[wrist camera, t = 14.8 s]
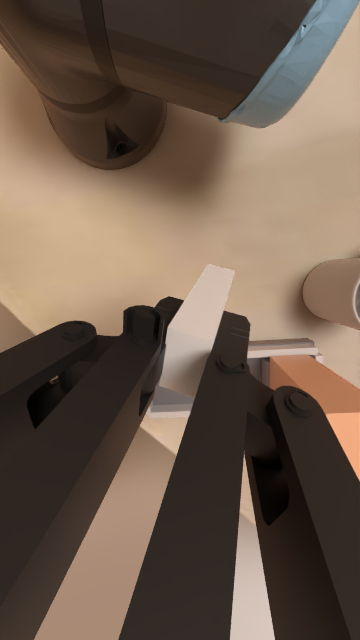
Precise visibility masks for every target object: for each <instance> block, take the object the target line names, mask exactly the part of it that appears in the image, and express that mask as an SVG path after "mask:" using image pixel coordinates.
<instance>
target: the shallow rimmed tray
mask: <svg viewBox="0 0 360 640" xmlns="http://www.w3.org/2000/svg"><path fill="white" fill-rule="evenodd" d="M306 354H308V355H309V356H311V357H312V358H314V359H315V360H317V361H318V362H320V363H321V364H323V355H322V354H320V353H318V347H316V346H314V341H312V340H310V339H308V338H301V339H283V340H265V341H249V344H248V355H247V364H248V365H249V369H250V372H251V374H252V375H253V376H254V377H255V378H256V379H257V380H258V381H260V382H261V383H262V357H270V356H287V355H306ZM159 383H160V379H159V381H158V383H157V385H156V387H155V394H154V398H153V400H152V402H151V404H150V406H149V408H148V410H147V412H146V414H145V415H148V419H158V418H183V417H189V415H190V412H191V409H192V405H193V402H194V399H195V398H193V397H190V396H187V395H184V394H181V393H178V392H175V391H173V390H170V389H167V388H164V387H161V386H159Z"/></svg>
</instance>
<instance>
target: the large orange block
mask: <svg viewBox="0 0 360 640" xmlns="http://www.w3.org/2000/svg"><path fill="white" fill-rule="evenodd" d="M262 383H263V384H264V385H266V386H268V387H269V388H271V389H273V390H276V388H278V387H280V386H293V387H296V388H300V389H301V390H303V391H305V392H307V393H308V394H310V395H311V396H312V397H313V398H314V399H315V400H317V402H318V403H319V405H320V406H321V407H322V409H323V411H324V413H325V415H326V417H327V419H328V421H329V423H330V425H331V426H332V428H333V430H334V432H335V434H336V436H337V438H338V440H339V442H340V444H341V446H342V448H343V450H344V452H345V454H346V456H347V458H348V460H349V461H350V463H351V465H352V467H353V469H354V471H355V473H356V475H357V477H358V479H359V481H360V389H358V388H357V387H355V386H354V385H352V384H351V383H349V382H348V381H346V380H345V379H343V378H342V377H340V376H339V375H337V374H336V373H334V372H333V371H331V370H330V369H328V368H327V367H326V366H324V365H323V364H321V363H320V362H318V361H317V360H315V359H314V358H312V357H311V356H309V355H308V354H306V355H287V356H270V357H262Z"/></svg>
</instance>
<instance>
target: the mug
mask: <svg viewBox="0 0 360 640" xmlns="http://www.w3.org/2000/svg"><path fill="white" fill-rule="evenodd" d="M303 299H304V303H305V305H306V307H307V308H308V309H309V311H311V312H312V313H313V314H314V315H316V316H318V317H320V318H323V319H326V320H329V321H333V322H336V323H339V324H342V325H345V326H348V327H352V328H355V329H358V330H360V258H351V259H338V260H331V261H327V262H324V263H322V264H320V265H318V266H317V267H316V268H314V269H313V270H312V271H311V272H310V274H309V275H308V276H307V278H306V280H305V282H304V286H303Z"/></svg>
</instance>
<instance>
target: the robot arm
mask: <svg viewBox="0 0 360 640" xmlns="http://www.w3.org/2000/svg"><path fill="white" fill-rule="evenodd" d="M359 1H360V0H0V44H1V46H2V47H3V48H4V49H5V51H6V52H7V53H8V54H9V55H10V57H11V58H12V59H13V60H14V61H15V63H16V64H17V65H18V66H19V68H20V69H21V70H22V71H23V72H24V74H25V75H26V76H27V77H28V78H29V80H30V81H31V82H32V83H33V84H34V85H35V87H36V88H37V89H38V91H39V94H40V96H41V99H42V101H43V103H44V106H45V109H46V112H47V115H48V118H49V120H50V123H51V125H52V127H53V129H54V130H55V132H56V133H57V135H58V136H59V138H60V139H61V140H62V142H63V143H64V144H65V145H66V146H67V147H68V148H69V149H70V150H71V151H72V152H73V153H74V154H75V155H76V156H77V157H78V158H80V159H81V160H82V161H84V162H86V163H87V164H90V165H92V166H94V167H98V168H102V169H121V168H125V167H128V166H130V165H133V164H135V163H136V162H138V161H140V160H141V159H142V158H143V157H145V156H146V155H147V154H148V153H149V152H150V151H151V149H152V148H153V147H154V145H155V144H156V142H157V141H158V139H159V137H160V134H161V132H162V129H163V126H164V122H165V117H166V101H168V102H171V103H174V104H177V105H181V106H184V107H187V108H190V109H193V110H196V111H200V112H203V113H206V114H209V115H212V116H215V117H218V121H220V122H222V123H228V122H235V123H239V124H242V125H246V126H250V127H254V128H265V127H267V126H269V125H271V124H274V123H276V122H278V121H279V120H280V119H282V118H283V117H284V116H285V115H286V114H287V113H288V112H289V111H290V110H291V108H292V107H293V106H294V105H295V104H296V103H297V101H298V100H299V99H300V97H301V96H302V95H303V93H304V92H305V91H306V89H307V88H308V86H309V85H310V83H311V82H312V80H313V79H314V77H315V76H316V74H317V73H318V71H319V70H320V68H321V67H322V65H323V64H324V62H325V60H326V59H327V57H328V55H329V54H330V52H331V50H332V49H333V47H334V46H335V44H336V42H337V41H338V39H339V37H340V36H341V34H342V32H343V30H344V29H345V27H346V25H347V23H348V22H349V20H350V18H351V16H352V15H353V13H354V11H355V9H356V7H357V5H358V4H359ZM234 274H235V270H231V269H227V268H223V267H219V266H215V265H211V264H208V265H207V266H206V268H205V269H204V271H203V273H202V274H201V276H200V277H199V279H198V280H197V282H196V283H195V285H194V287H193V288H192V290H191V291H190V293H189V294H188V296H187V298H186V299H185V301H184V300H180V299H177V298H173V297H170V296H168V297H166V298H164V299H162V300H160V301H159V303H158V304H157V305H156V307H154V308H153V307H150V306H144V305H141V306H133V307H129V308H127V309H126V310H124V317H123V333H122V334H121V335H120V336H103V335H97V333H96V329H95V327H94V326H93V325H92V324H90V323H88V322H85V321H69V322H65V323H62V324H59V325H57V326H55V327H53V328H51V329H49V330H47V331H45V332H43V333H41V334H39V335H37V336H35V337H33V338H31V339H28V340H27V341H24V342H22V343H20V344H18V345H16V346H14V347H12V348H10V349H8V350H6V351H4V352H2V353H0V640H34V638H35V636H36V634H37V632H38V630H39V628H40V626H41V624H42V622H43V620H44V618H45V616H46V614H47V612H48V610H49V608H50V605H51V604H52V602H53V600H54V598H55V596H56V594H57V592H58V589H59V588H60V586H61V583H62V581H63V579H64V577H65V575H66V573H67V571H68V569H69V567H70V565H71V563H72V561H73V559H74V557H75V555H76V553H77V551H78V549H79V547H80V545H81V543H82V541H83V539H84V537H85V535H86V533H87V531H88V529H89V527H90V525H91V523H92V521H93V519H94V517H95V515H96V513H97V510H98V509H99V507H100V505H101V503H102V501H103V499H104V497H105V495H106V493H107V491H108V488H109V487H110V484H111V482H112V480H113V478H114V476H115V474H116V472H117V470H118V468H119V466H120V464H121V462H122V460H123V458H124V456H125V454H126V452H127V450H128V448H129V446H130V444H131V442H132V440H133V438H134V436H135V434H136V432H137V430H138V428H139V426H140V424H141V422H142V420H143V418H144V416H145V414H146V412H147V410H148V408H149V406H150V404H151V402H152V400H153V398H154V394H155V387H156V385H157V383H158V381H159V379H160V383H159V386H161V387H164V388H167V389H170V390H173V391H175V392H178V393H181V394H184V395H187V396H190V397H193V398H195V399H194V402H193V405H192V409H191V412H190V415H189V418H188V421H187V424H186V428H185V431H184V434H183V437H182V440H181V443H180V447H179V450H178V453H177V456H176V459H175V463H174V466H173V469H172V472H171V475H170V478H169V481H168V485H167V488H166V491H165V494H164V497H163V500H162V504H161V507H160V510H159V513H158V516H157V519H156V523H155V526H154V529H153V532H152V535H151V539H150V542H149V545H148V548H147V551H146V554H145V557H144V561H143V564H142V567H141V570H140V573H139V576H138V580H137V583H136V586H135V589H134V592H133V595H132V599H131V602H130V605H129V608H128V611H127V614H126V618H125V621H124V624H123V627H122V630H121V633H120V636H119V640H230V629H231V616H232V602H233V589H234V576H235V563H236V562H235V561H236V549H237V536H238V522H239V511H240V498H241V484H242V471H243V458H244V454H245V460H246V466H247V472H248V478H249V484H250V490H251V496H252V502H253V508H254V515H255V521H256V527H257V532H258V539H259V544H260V550H261V557H262V563H263V569H264V575H265V581H266V587H267V593H268V599H269V605H270V611H271V617H272V623H273V630H274V636H275V640H360V481H359V479H358V477H357V475H356V473H355V471H354V469H353V467H352V465H351V463H350V461H349V460H348V458H347V456H346V454H345V452H344V450H343V448H342V446H341V444H340V442H339V440H338V438H337V436H336V434H335V432H334V430H333V428H332V426H331V425H330V423H329V421H328V419H327V417H326V415H325V413H324V411H323V409H322V407H321V406H320V405H319V403H318V402H317V400H315V399H314V398H313V397H312V396H311V395H310V394H308V393H307V392H305V391H303V390H301V389H300V388H296V387H293V386H280V387H278V388H276V390H273V389H271V388H269V387H268V386H266V385H264V384H263V383H261V382H260V381H258V380H257V379H256V378H255V377H254V376H253V375H252V374H251V372H250V369H249V365H248V364H247V355H248V344H249V332H250V323H249V321H248V319H247V318H246V317H245V316H241V315H237V314H234V313H230V312H227V311H224V308H225V305H226V301H227V298H228V295H229V291H230V288H231V284H232V281H233V277H234ZM57 375H58V378H57V379H55V380H52V381H50V380H51V379H53V378H54V377H56V376H57Z"/></svg>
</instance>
